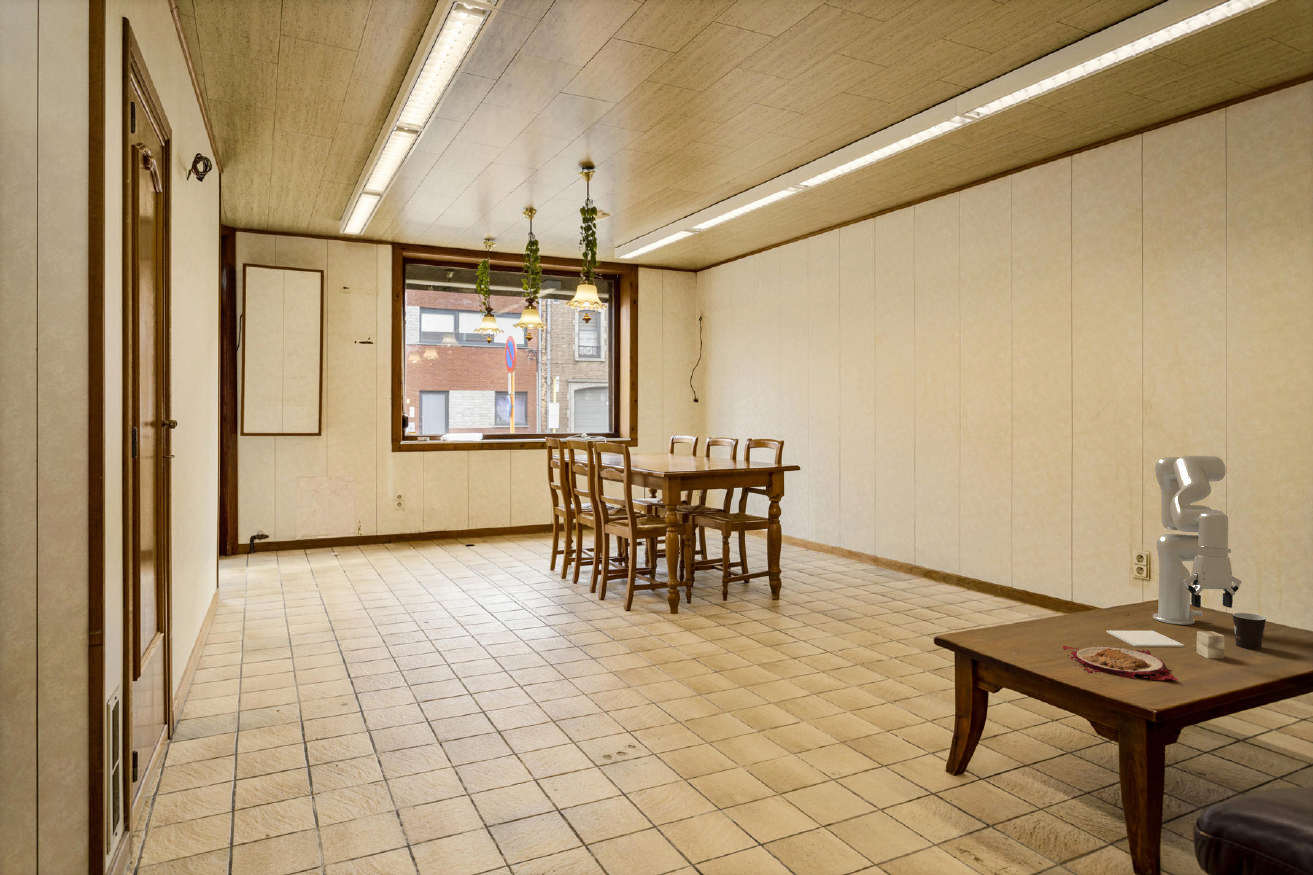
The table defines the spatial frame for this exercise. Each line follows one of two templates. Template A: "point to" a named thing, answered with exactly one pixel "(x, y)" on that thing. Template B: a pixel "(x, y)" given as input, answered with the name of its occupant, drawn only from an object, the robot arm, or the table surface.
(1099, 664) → the plate with food
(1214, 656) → the birch block
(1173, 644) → the white mat
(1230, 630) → the table surface
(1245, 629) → the coffee mug
